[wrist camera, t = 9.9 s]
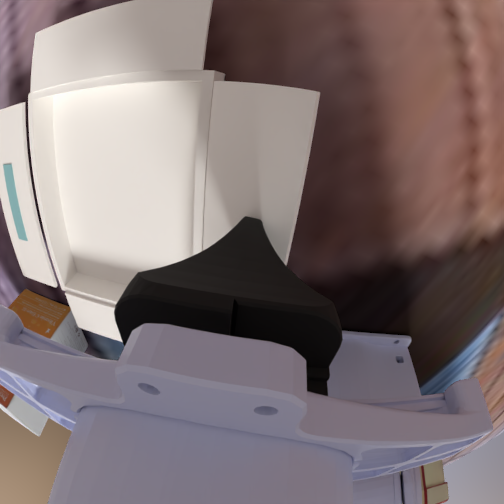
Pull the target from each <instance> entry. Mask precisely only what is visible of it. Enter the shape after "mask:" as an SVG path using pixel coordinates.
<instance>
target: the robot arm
mask: <svg viewBox="0 0 504 504" xmlns="http://www.w3.org/2000/svg"><path fill="white" fill-rule="evenodd" d="M114 316H115V321H116V324H117V327H118V330H119V333H120V336H121V339H122V342H123V344H124V349H123V351H122V353H121V356H120V358H119V360H107V359H100V358H97V357H94V356H91V355H89V354H86V353H83V352H81V351H78V350H75V349H73V348H70V347H68V346H65V345H63V344H60V343H58V342H56V341H53V340H51V339H49V338H46V337H44V336H42V335H40V334H37V333H35V332H33V331H31V330H29V329H27V328H25V327H24V326H23V323H22V321H21V319H20V318H19V316H18V315H17V314H16V313H15V312H14V311H12V310H11V309H9V308H7V307H5V306H3V305H1V304H0V384H1V385H2V386H3V387H5V388H6V389H7V390H9V391H10V392H12V393H13V394H14V395H16V396H17V397H19V398H20V399H22V400H23V401H24V402H26V403H27V404H29V405H30V406H32V407H33V408H35V409H36V410H38V411H39V412H41V413H42V414H44V415H45V416H47V417H49V418H50V419H52V420H54V421H55V422H57V423H59V424H60V425H62V426H64V427H65V428H67V429H69V430H71V431H72V433H71V436H70V438H69V441H68V444H67V446H66V449H65V452H64V455H63V457H62V460H61V463H60V466H59V469H58V472H57V475H56V478H55V481H54V484H53V487H52V490H51V494H50V497H49V501H48V504H402V503H403V504H422V487H421V476H420V469H419V466H422V465H425V464H428V463H432V462H435V461H438V460H441V459H444V458H447V457H451V456H453V455H455V454H456V453H458V452H460V451H462V450H463V449H465V448H467V447H468V446H470V445H471V444H473V443H475V442H476V441H478V440H479V439H481V438H482V437H484V436H485V435H487V434H488V433H489V432H491V431H492V430H493V425H492V421H491V418H490V414H489V411H488V408H487V405H486V401H485V398H484V395H483V392H482V390H481V387H480V384H479V381H478V379H477V378H470V379H464V380H459V381H456V382H455V383H453V384H452V385H450V386H449V387H448V388H447V389H446V390H445V392H444V393H439V394H432V395H423V396H421V392H420V388H419V385H418V381H417V377H416V374H415V370H414V367H413V364H412V360H411V357H410V354H409V351H408V348H407V347H408V346H409V344H410V343H411V337H410V336H405V335H389V334H375V333H363V332H352V331H342V328H341V323H340V320H339V317H338V314H337V311H336V308H335V305H334V303H333V301H331V300H329V299H328V298H326V297H324V296H323V295H321V294H319V293H318V292H316V291H315V290H313V289H312V288H310V287H309V286H308V285H306V284H305V283H304V282H303V281H301V280H300V279H299V278H298V277H297V276H296V275H295V274H294V273H293V272H292V271H291V270H290V269H289V268H288V267H287V266H286V265H285V264H284V263H283V261H282V260H281V259H280V257H279V256H278V254H277V253H276V251H275V250H274V248H273V246H272V244H271V243H270V241H269V239H268V237H267V234H266V232H265V229H264V227H263V223H262V221H261V220H260V219H257V218H252V217H247V216H245V217H244V218H242V219H241V220H240V222H239V223H238V224H237V225H236V226H235V227H234V228H233V229H232V230H230V231H229V232H228V233H227V234H226V235H225V236H224V237H222V238H221V239H220V240H218V241H217V242H216V243H215V244H213V245H212V246H210V247H209V248H207V249H205V250H203V251H202V252H200V253H198V254H196V255H193V256H191V257H189V258H187V259H185V260H182V261H179V262H177V263H174V264H170V265H167V266H164V267H160V268H156V269H151V270H147V271H142V272H138V273H137V274H136V275H135V276H134V278H133V279H132V280H131V281H130V283H129V284H128V286H127V287H126V289H125V290H124V292H123V294H122V295H121V297H120V299H119V300H118V302H117V304H116V305H115V310H114ZM400 471H401V475H400Z"/></svg>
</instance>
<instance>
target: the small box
mask: <svg viewBox="0 0 504 504" xmlns="http://www.w3.org/2000/svg"><path fill="white" fill-rule="evenodd" d="M8 308H9V309H11V310H12V311H14V312H15V313H16V314H17V315H18V316H19V318H20V319H21V321H22V323H23V326H24V327H25V328H27V329H29V330H31V331H33V332H35V333H37V334H40V335H42V336H44V337H46V338H49V339H51V340H53V341H56V342H58V343H60V344H63V345H65V346H68V347H70V348H73V349H75V350H78V351H81V352H83V353H84V352H85V350H86V349H87V347H88V343H87V341H86V339H85V336H84V334H83V332H82V329H81V328H79V327H78V325H77V323H76V320H75V318H74V316H73V313H72V311H71V308H70V307H69V306H66V305H63V304H60V303H58V302H55V301H53V300H50V299H48V298H45V297H43V296H40V295H38V294H36V293H34V292H31V291H30V290H28V289H25V290H24V291H23V292H22V293H21V294H20V295H19V296H18V297H17V298H16V299H15V301H14V302H13V303H12V304H11V305H10V306H9V307H8ZM0 408H1V409H2V410H3V411H4V412H6V413H7V414H8V415H9V416H11V417H12V418H13V419H14V420H16V421H17V422H19V423H20V424H22V425H23V426H24V427H26V428H27V429H28V430H30V431H31V432H33V433H34V434H36V435H38V436H40V434H41V432H42V430H43V428H44V426H45V424H46V422H47V420H48V418H49V417H47V416H45V415H44V414H42V413H41V412H39V411H38V410H36V409H35V408H33V407H32V406H30V405H29V404H27V403H26V402H24V401H23V400H22V399H20V398H19V397H17V396H16V395H14V394H13V393H12V392H10V391H9V390H7V389H6V388H5V387H3V386H2V385H1V384H0Z"/></svg>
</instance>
